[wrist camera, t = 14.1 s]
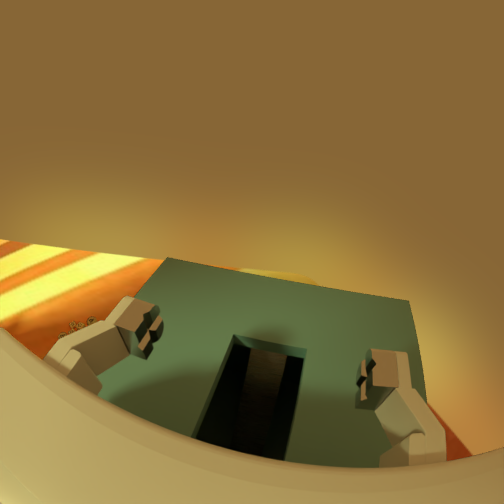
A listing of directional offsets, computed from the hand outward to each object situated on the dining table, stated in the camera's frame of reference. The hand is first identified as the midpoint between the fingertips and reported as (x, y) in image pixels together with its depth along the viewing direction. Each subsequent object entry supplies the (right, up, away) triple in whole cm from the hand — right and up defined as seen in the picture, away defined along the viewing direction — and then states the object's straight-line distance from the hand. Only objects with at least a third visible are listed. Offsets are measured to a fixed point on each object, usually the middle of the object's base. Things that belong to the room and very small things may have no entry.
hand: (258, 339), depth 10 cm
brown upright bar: (-1, -13, +9) cm, 16 cm away
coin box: (-1, -16, +10) cm, 19 cm away
